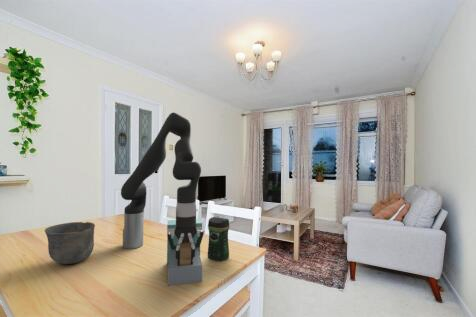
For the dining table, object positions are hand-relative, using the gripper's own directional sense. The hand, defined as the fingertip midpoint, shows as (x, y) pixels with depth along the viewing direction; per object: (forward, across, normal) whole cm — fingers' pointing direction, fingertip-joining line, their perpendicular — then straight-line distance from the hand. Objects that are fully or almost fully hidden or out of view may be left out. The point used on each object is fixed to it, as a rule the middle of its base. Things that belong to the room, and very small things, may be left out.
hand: (185, 258), depth 87 cm
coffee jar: (+7, -16, -14) cm, 23 cm away
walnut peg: (+5, 0, 0) cm, 5 cm away
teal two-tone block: (+7, 0, -11) cm, 13 cm away
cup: (+8, +48, -26) cm, 54 cm away
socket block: (+7, 0, -4) cm, 8 cm away
